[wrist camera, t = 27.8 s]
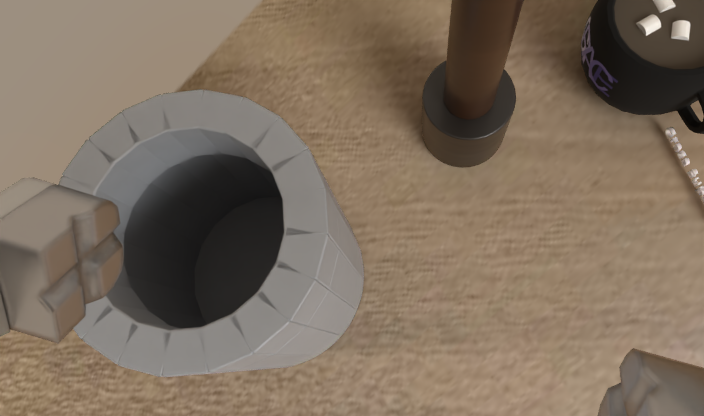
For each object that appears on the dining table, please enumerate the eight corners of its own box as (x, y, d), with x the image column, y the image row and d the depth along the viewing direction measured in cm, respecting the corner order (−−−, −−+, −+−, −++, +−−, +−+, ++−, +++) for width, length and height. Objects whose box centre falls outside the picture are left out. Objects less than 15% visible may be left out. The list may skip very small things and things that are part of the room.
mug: (545, 38, 31) (583, -58, 24) (661, -7, 31) (735, -117, 24) (657, 257, 28) (740, 222, 21) (787, 208, 28) (915, 156, 21)
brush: (407, 144, 30) (394, -76, 15) (447, 78, 31) (474, -197, 16) (478, 182, 30) (543, -9, 14) (518, 114, 30) (621, -139, 15)
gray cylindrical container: (156, 306, 30) (-12, 275, 18) (252, 160, 31) (152, 44, 20) (301, 404, 28) (218, 438, 16) (397, 245, 29) (383, 172, 18)
